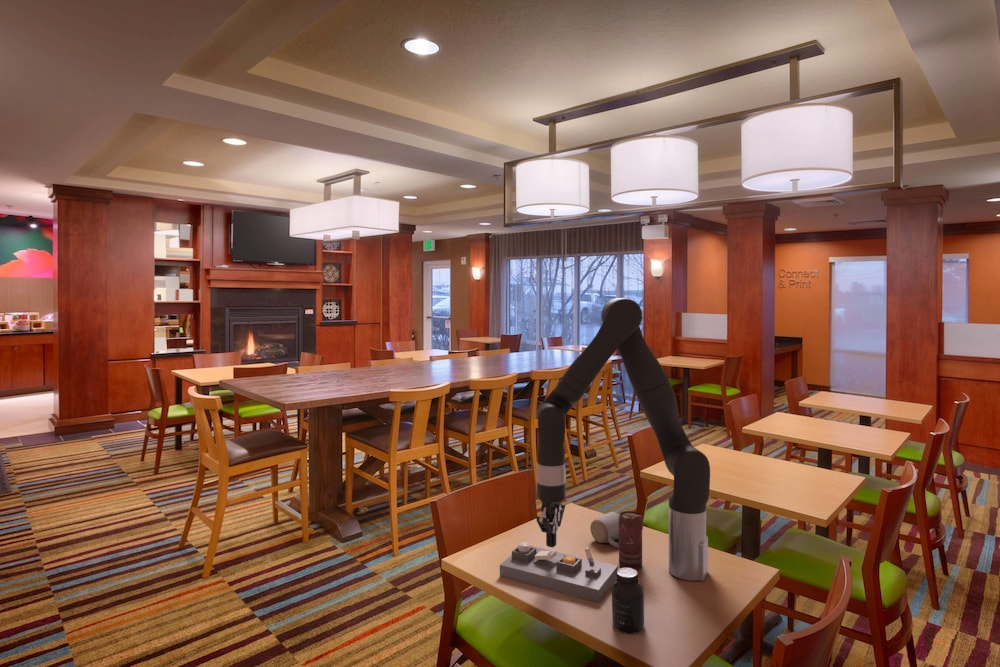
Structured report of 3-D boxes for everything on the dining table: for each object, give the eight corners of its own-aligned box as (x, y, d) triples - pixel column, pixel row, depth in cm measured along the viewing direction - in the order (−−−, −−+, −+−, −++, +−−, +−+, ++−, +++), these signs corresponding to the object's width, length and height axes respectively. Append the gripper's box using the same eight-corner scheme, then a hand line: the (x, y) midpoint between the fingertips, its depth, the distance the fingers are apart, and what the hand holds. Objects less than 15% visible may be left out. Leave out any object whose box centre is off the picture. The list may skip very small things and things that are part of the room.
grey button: (532, 550, 150) (532, 543, 150) (526, 555, 147) (526, 548, 147) (521, 548, 152) (521, 541, 152) (516, 552, 149) (515, 545, 149)
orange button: (577, 564, 144) (577, 557, 144) (572, 569, 141) (572, 562, 141) (565, 561, 145) (565, 555, 145) (560, 566, 143) (560, 559, 142)
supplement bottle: (621, 613, 127) (620, 561, 126) (649, 624, 123) (649, 570, 122) (606, 627, 122) (606, 573, 121) (635, 638, 117) (635, 582, 117)
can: (643, 571, 147) (643, 519, 146) (619, 569, 148) (618, 517, 147) (642, 561, 153) (642, 511, 152) (618, 559, 154) (618, 509, 153)
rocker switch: (556, 554, 147) (555, 550, 147) (551, 559, 144) (550, 555, 144) (540, 554, 149) (539, 550, 149) (535, 559, 146) (534, 555, 146)
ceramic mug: (588, 539, 167) (588, 514, 167) (606, 532, 172) (606, 508, 172) (615, 552, 159) (615, 526, 159) (634, 544, 164) (634, 519, 163)
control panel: (617, 577, 144) (617, 558, 144) (598, 602, 132) (598, 581, 132) (525, 555, 158) (524, 537, 157) (499, 575, 146) (499, 557, 145)
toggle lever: (595, 565, 140) (589, 546, 141) (594, 567, 139) (587, 548, 140) (591, 566, 141) (585, 547, 141) (589, 568, 140) (583, 549, 140)
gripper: (553, 489, 137) (553, 559, 138) (574, 475, 148) (574, 539, 149) (526, 485, 141) (526, 552, 142) (548, 471, 152) (549, 534, 153)
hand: (551, 545), depth 145 cm, fingers closed
